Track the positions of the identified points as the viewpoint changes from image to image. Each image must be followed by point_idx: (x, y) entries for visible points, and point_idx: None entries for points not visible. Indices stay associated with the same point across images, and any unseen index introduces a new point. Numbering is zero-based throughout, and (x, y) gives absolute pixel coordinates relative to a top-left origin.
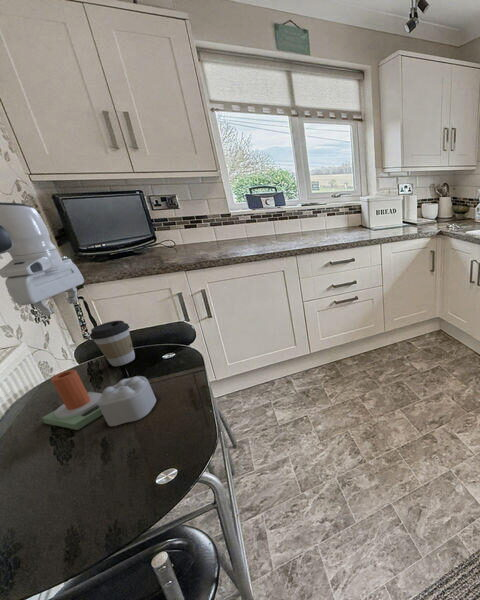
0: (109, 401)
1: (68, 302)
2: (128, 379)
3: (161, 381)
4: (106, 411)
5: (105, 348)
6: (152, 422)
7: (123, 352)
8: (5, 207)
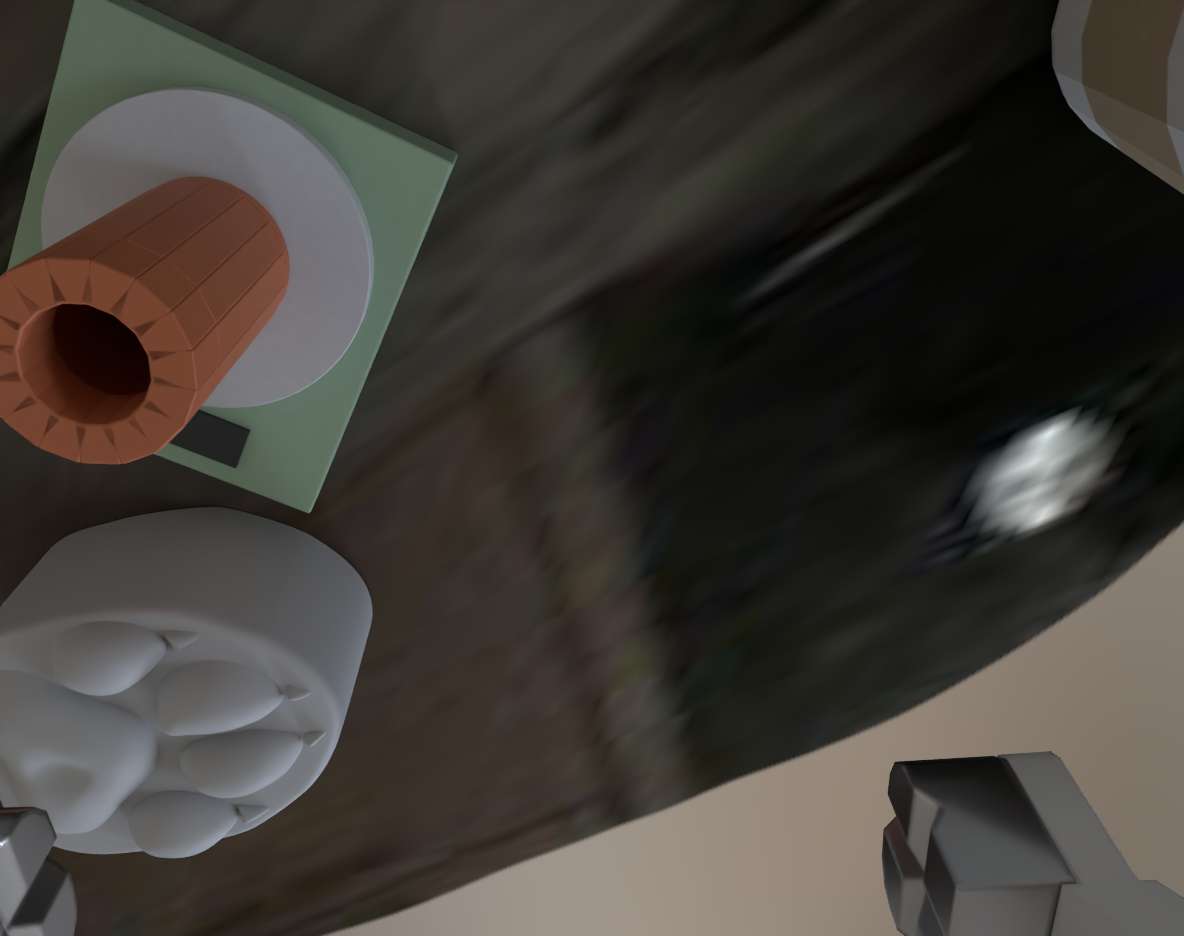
0: None
1: (908, 783)
2: (258, 719)
3: (553, 625)
4: None
5: (1147, 22)
6: None
7: (1125, 148)
8: None
